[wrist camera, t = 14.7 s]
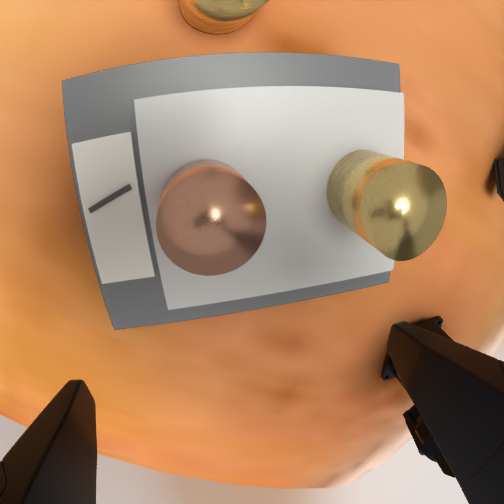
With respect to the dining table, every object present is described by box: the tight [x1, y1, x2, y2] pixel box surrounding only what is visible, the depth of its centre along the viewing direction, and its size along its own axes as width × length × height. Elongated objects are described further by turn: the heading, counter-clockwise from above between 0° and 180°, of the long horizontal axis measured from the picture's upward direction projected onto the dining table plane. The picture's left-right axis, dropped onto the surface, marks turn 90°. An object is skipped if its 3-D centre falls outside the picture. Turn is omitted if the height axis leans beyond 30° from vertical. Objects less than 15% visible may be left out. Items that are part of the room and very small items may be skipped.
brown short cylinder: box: [156, 159, 266, 276], centre depth 14 cm, size 4×4×3 cm
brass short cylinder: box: [327, 150, 447, 261], centre depth 15 cm, size 4×4×4 cm
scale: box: [62, 53, 404, 330], centre depth 18 cm, size 15×19×4 cm
